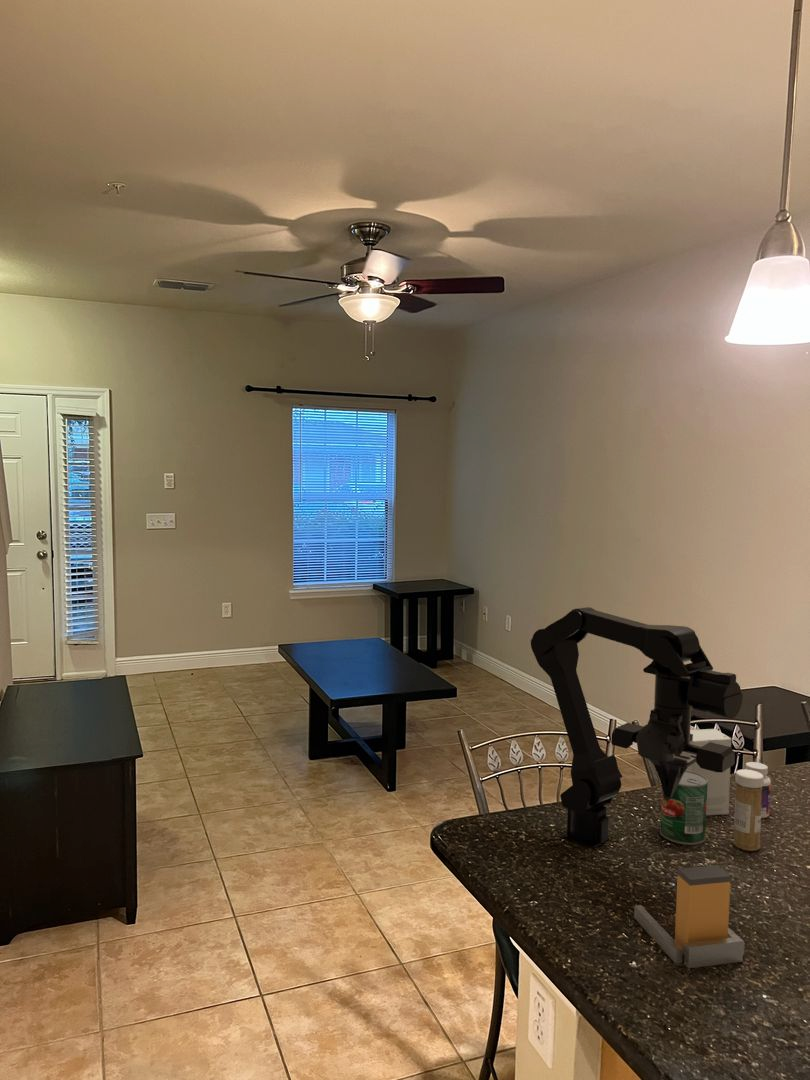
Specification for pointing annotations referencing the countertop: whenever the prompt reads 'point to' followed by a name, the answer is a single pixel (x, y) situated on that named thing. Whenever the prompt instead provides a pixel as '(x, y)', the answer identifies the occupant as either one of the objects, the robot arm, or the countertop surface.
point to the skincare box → (716, 780)
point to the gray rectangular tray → (693, 945)
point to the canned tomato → (685, 810)
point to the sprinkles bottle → (748, 809)
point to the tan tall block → (702, 904)
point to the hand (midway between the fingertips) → (668, 797)
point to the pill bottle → (765, 788)
